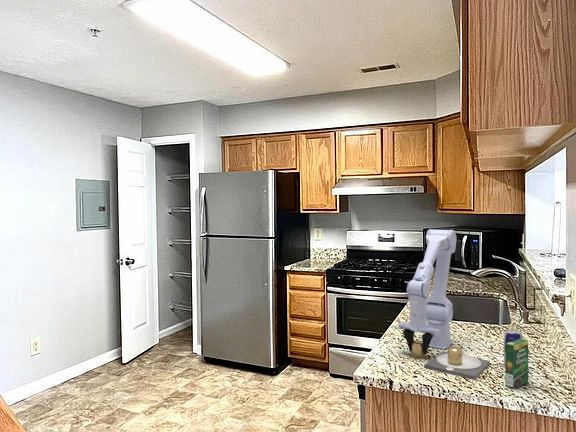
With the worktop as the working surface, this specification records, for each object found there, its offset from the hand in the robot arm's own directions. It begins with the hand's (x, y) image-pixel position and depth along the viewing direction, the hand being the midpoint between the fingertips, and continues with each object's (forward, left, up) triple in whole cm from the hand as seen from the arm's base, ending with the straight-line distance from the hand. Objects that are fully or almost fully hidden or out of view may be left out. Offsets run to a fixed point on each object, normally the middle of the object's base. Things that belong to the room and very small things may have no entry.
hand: (418, 352), depth 158 cm
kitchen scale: (+1, +14, -1) cm, 14 cm away
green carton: (+6, +33, -2) cm, 34 cm away
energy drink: (-8, +29, -2) cm, 30 cm away
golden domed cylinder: (+3, +14, 0) cm, 14 cm away
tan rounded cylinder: (0, 0, -1) cm, 1 cm away
